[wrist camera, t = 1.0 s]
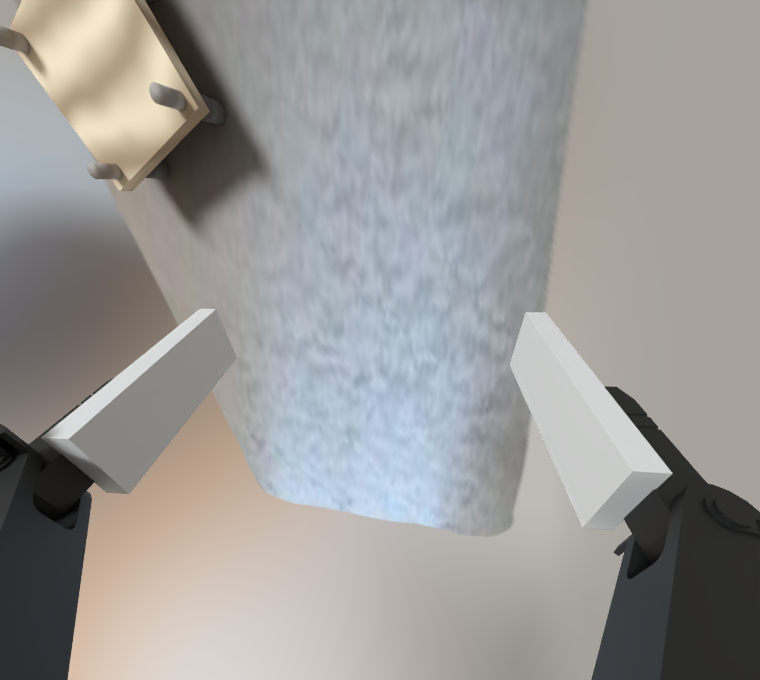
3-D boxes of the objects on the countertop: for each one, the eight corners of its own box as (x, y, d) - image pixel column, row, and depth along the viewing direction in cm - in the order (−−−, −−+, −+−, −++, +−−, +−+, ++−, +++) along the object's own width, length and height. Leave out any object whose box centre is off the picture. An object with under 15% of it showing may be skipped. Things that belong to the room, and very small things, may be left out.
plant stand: (73, 59, 34) (-30, 24, 27) (141, -54, 28) (29, -139, 21) (163, 190, 40) (97, 191, 32) (238, 120, 33) (177, 100, 26)
